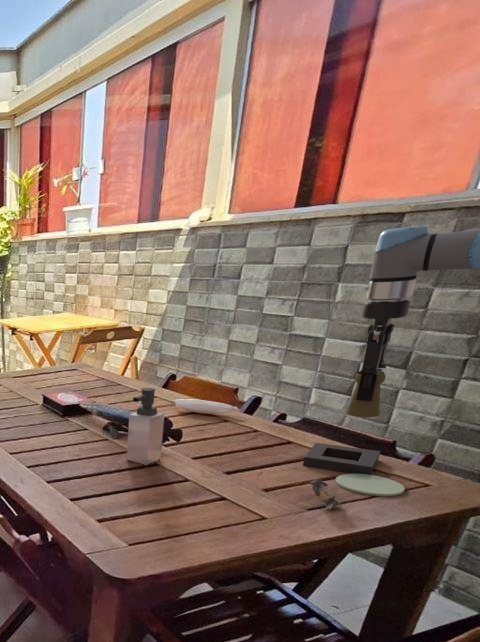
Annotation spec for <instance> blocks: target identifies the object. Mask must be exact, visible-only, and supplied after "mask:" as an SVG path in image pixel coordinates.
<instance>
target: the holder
mask: <svg viewBox="0 0 480 642" xmlns="http://www.w3.org/2000/svg"><path fill="white" fill-rule="evenodd" d="M380 454H381V451H380V450H374V449H373V450H372V449H366V448H357V447H352V446H343V445H336V444H330V443H329V444H328V443H321V442H314V443H313V445H312V446H311V448H310V449H309V450H308V451H307V453H306V454H305V455H304V457H303V463H302V466H305V467H311V468H317V469H322V470H328V471H333V472H334V471H335V472H340V473H341V472H342V473H346V474H368V475H373V472H374V470H375V468H376V466H377V463H378V462H379V459H380ZM356 460H359V461H356Z"/></svg>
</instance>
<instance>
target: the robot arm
mask: <svg viewBox="0 0 480 642" xmlns="http://www.w3.org/2000/svg"><path fill="white" fill-rule="evenodd" d="M428 230H429V229H428V226H427V225H416V226H415V225H414V226H406V227H404V226H403V227H397V228H389V229H385V230H383V231H382V232H381V233H380V234H379V236H378V240H377V244H376V247H375V250H374V252H373V260H372V265H371V270H370V275H369V279H368V281H369V282H368V285H365V286H364V288H363V290H364V291H366V295H365V299H366V300H367V301H365V302H364V303H363V309H362V314H361V317H362V318H363V319H369V320H371V319H372V320H373V319H374V322H373V324H370V326H369V327H368V330H367V334H368V336H367V340H366V348H365V353H364V358H363V362H362V367H361V369H360V370H358V371H357V373H358V374H361V379H360V384H359V388H358V393H357V398H356V400H362V401H372V397H373V393H374V389H375V384H376V380H377V375H378V374H377V373H378V371H377V370H380V371H383V369H386V368H387V364H384V363H385V358H386V354H387V349H388V344H389V342H390V341H391V337H392V333H393V332H394V329H395V324H393V322H392V319H401V318H405V317H407V316H408V314H409V309H410V306H411V300H410V298H412V297H413V294H414V291H415V286H416V282H417V275H418V272H426V271H427V272H428V271H443V270H446V271H447V270H463V269H474V270H476V269H477V270H478V269H480V226H474V227H469V228H466V229H464V230H460V231H451V232H442V233H429V231H428Z"/></svg>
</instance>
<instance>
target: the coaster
mask: <svg viewBox="0 0 480 642" xmlns="http://www.w3.org/2000/svg"><path fill="white" fill-rule="evenodd" d="M334 482H335V484H336V485H337V486H339V487H341V488H343V489H344V490H347V491H350V492H353V493H356V494H357V493H358V494H362V495H366V496H373V497H395V496H400V495H402V494H403V493H404V492H405V491H406V488H405V486H404V485H403V484H402V483H401V482H398V481H396V480H393V479H390V478H387V477H384V476H380V475H374V474H371V475H368V474H353V473H343V474H340V475H337V476H336V477H335V479H334Z"/></svg>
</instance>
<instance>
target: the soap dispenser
mask: <svg viewBox="0 0 480 642" xmlns="http://www.w3.org/2000/svg"><path fill="white" fill-rule="evenodd" d="M140 390H141V394H139V395H137V396H133V397H132V402H135V403H139V402H140V405H139V406H138V407H137V410H136V412H133V413H130V414H129V415H128V431H127V445H126V460H127V459H128V460H131V461H134V462H133V463H135V462H137V463H136V464H138V463H141V464H140V465H142V464H144V465H143V466H145V465H147V466H149V465H148V464H150V463H152V462H154V461H156V460H158V459H160V458H161V457H162V448H163V437H164V436H163V435H164V424H165V413H163V412H158V409H157V407H156V406H154V403H155V391H156V388H154V387H142V388H141V389H140ZM161 459H162V458H161ZM128 460H127V461H128ZM131 461H130V462H131ZM152 464H153V463H152ZM150 465H151V464H150Z"/></svg>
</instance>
